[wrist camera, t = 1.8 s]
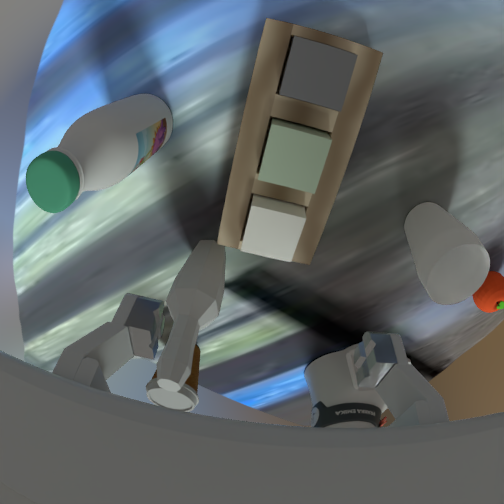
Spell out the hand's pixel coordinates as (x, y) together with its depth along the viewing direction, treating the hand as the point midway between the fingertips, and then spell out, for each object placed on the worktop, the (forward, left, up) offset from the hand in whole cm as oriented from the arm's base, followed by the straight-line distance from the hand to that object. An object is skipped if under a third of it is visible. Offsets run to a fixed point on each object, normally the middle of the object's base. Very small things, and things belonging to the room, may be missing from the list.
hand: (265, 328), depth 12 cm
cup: (-23, +5, -29) cm, 37 cm away
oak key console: (-2, 0, -28) cm, 28 cm away
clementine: (-41, +11, -29) cm, 51 cm away
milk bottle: (+16, +1, -29) cm, 33 cm away
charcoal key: (-2, -9, -26) cm, 27 cm away
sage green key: (-2, 0, -26) cm, 26 cm away
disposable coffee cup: (+7, +42, -29) cm, 51 cm away
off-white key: (-2, +9, -26) cm, 27 cm away
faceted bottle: (+5, +18, -29) cm, 34 cm away
